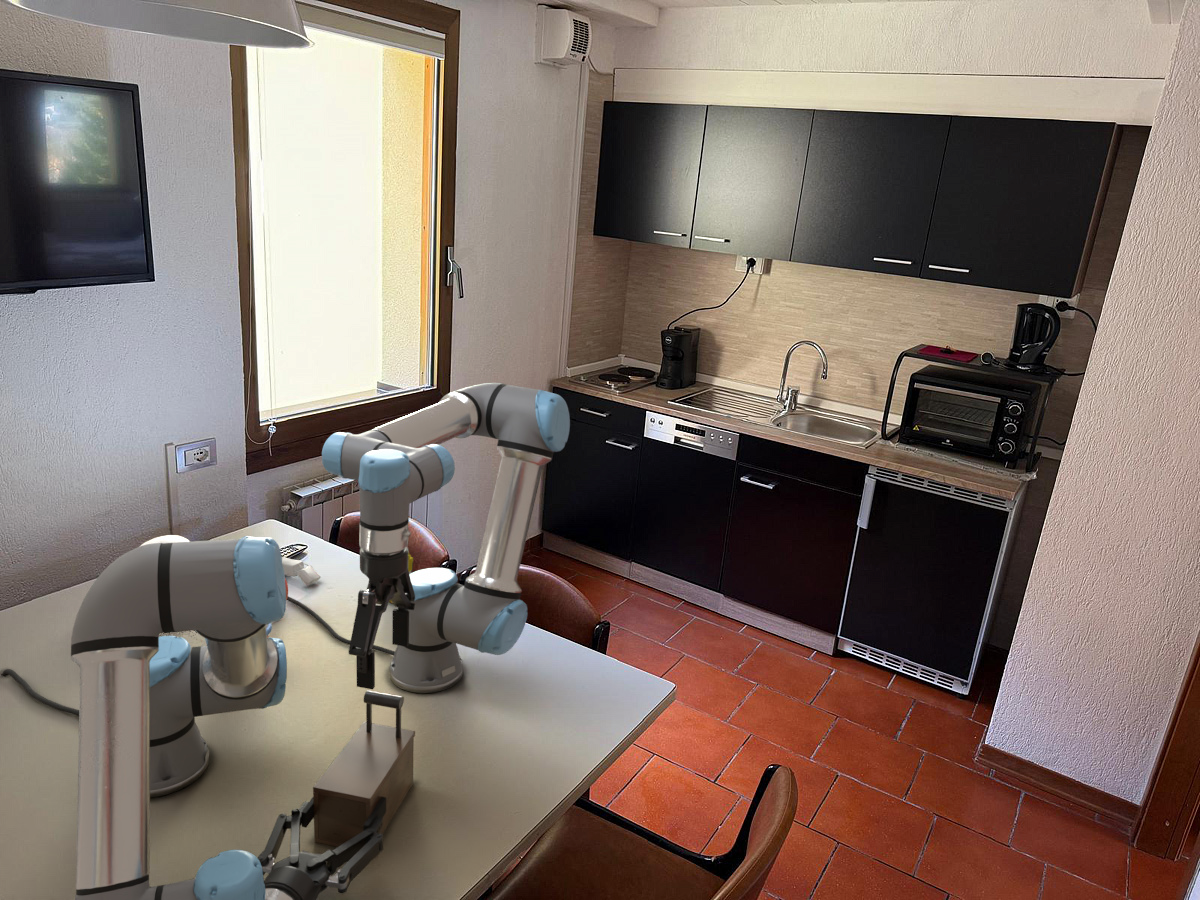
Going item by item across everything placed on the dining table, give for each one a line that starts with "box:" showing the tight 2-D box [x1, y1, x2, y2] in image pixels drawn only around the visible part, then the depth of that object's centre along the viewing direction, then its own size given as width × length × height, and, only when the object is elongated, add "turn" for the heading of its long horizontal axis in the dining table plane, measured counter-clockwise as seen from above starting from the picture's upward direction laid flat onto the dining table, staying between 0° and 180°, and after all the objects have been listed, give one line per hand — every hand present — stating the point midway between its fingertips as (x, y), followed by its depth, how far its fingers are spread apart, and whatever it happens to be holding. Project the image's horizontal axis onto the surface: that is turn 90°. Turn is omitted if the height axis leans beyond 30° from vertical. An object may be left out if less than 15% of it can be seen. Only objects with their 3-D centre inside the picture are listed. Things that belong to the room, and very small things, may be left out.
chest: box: [312, 737, 415, 848], centre depth 141 cm, size 17×10×9 cm, turn 169°
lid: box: [312, 689, 416, 804], centre depth 138 cm, size 18×10×9 cm, turn 169°
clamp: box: [282, 556, 322, 587], centre depth 219 cm, size 20×4×7 cm, turn 62°
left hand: (354, 798), depth 136 cm, fingers closed on chest, 9 cm apart
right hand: (383, 665), depth 142 cm, fingers open, 13 cm apart
